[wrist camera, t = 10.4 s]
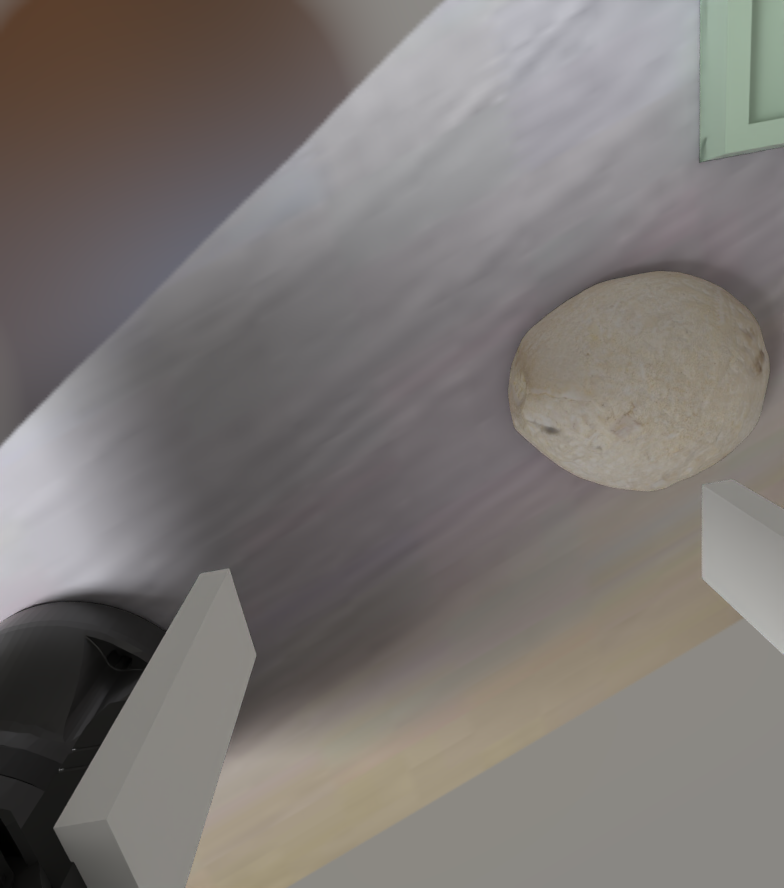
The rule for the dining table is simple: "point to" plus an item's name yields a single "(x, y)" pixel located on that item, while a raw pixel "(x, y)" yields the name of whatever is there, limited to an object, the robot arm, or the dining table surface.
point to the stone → (640, 380)
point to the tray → (741, 77)
